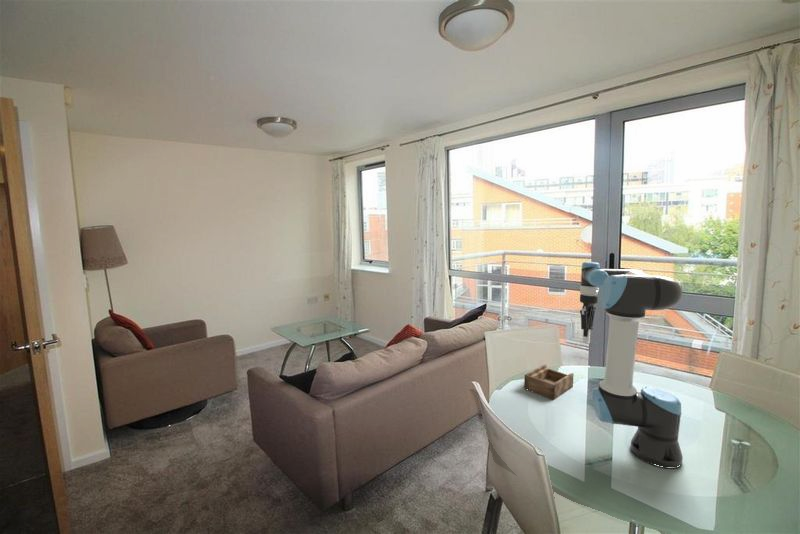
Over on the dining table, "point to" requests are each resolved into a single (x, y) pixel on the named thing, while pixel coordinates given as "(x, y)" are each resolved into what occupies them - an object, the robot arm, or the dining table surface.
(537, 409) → the dining table surface
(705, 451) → the dining table surface
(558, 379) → the box
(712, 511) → the dining table surface
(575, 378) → the mint green panel
